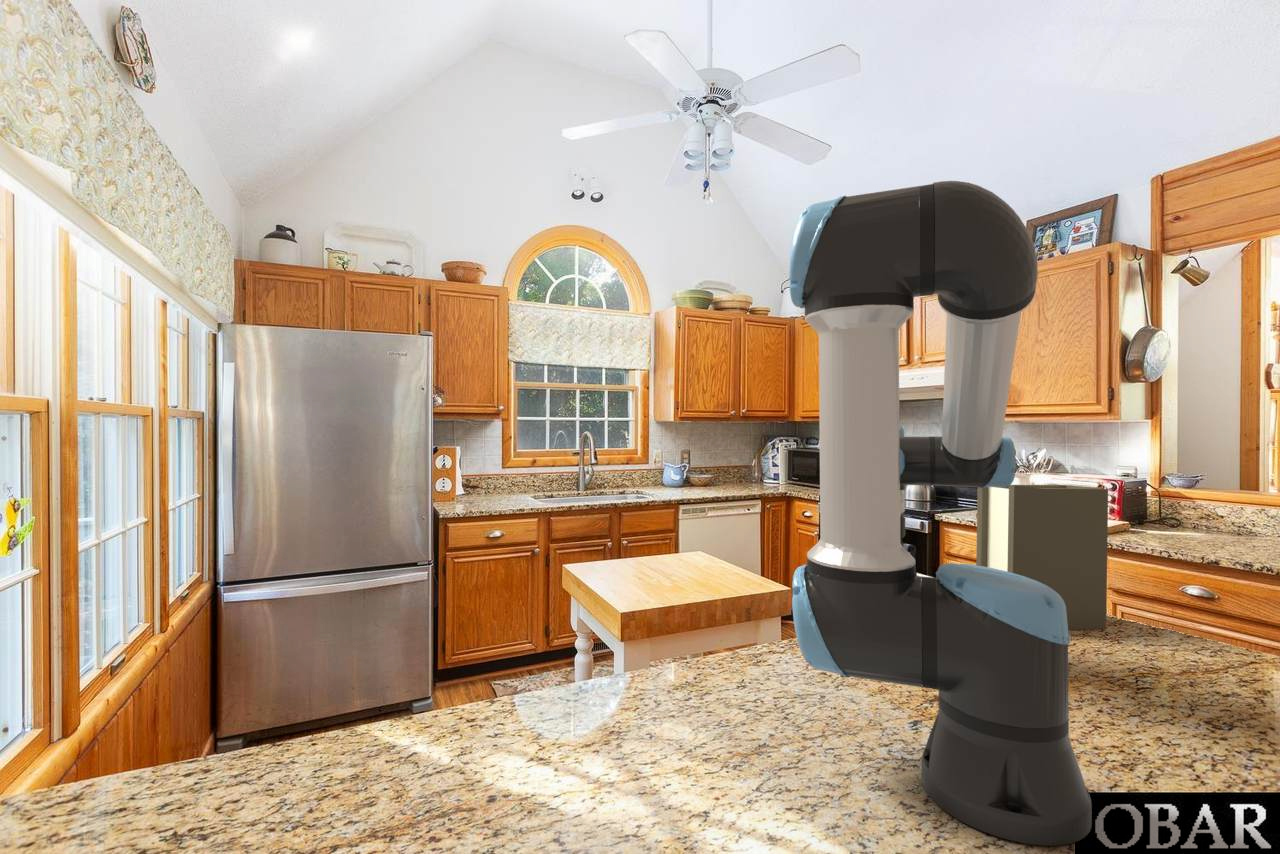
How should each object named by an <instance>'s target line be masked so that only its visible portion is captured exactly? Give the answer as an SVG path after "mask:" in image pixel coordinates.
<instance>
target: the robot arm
mask: <svg viewBox="0 0 1280 854" xmlns="http://www.w3.org/2000/svg"><path fill="white" fill-rule="evenodd" d="M789 256H790V257H789V267H788V268H789V269H788V270H789V271H788V276H789V294H790V295H789V296H790V299H791V303H792V304H793V305H794V307H796V308H800V309H804V322H805V323H807V324H808V325H809V326H810V327H811V328H812V329H813V330H814V331H815V332H816V333H817V336H818V382H819V383H818V385H819V386H818V393H819V395H818V397H819V401H818V402H819V403H818V404H819V405H818V406H819V407H818V408H819V409H818V410H819V416H818V417H819V419H818V420H819V516H820V517H819V525H820V527H819V528H820V529H819V531H820V533H819V534H820V539H819V540H818V542H817V543H816V544H815V545H814V546H812V547H811V548H810V549H809V550H808V551H807V553H806V564H802V565H801V566H798V567H797V568H796V569H795V570H794V572H793V573H794V574H793V576H792V597H791V604H792V605H791V606H792V616H793V617H792V619H793V624H794V631H795V636H796V641H797V644H798V647H799V651H800V653H801V655H802V656H803V659H804V660H805V662H806V663H807V664H808V665H809V666H811V667H812V668H813V669H815V670H819V671H823V672H828V673H832V674H838V675H840V676H842V677H843V678H852V677H853V678H859V679H865V680H871V681H879V682H883V683H884V682H886V683H892V684H898V685H904V686H910V687H911V686H913V687H919V688H926V689H930V690H931V689H932V690H937V691H938V712H937V714H936V717H935V720H934V722H933V725H932V727H931V731H930V732H929V736H928V739H927V741H926V744H925V748H924V750H923V751H922V756H921V761H920V762H921V763H920V765H921V767H920V769H921V771H920V772H921V773H920V774H921V775H920V776H921V784H922V786H923V788H924V791H925V792H926V794H927V795H928V796H929V797H930V799H931V800H932V801H933V802H934V803H935V804H936V805H937V806H938V807H940V809H942V810H943V811H945V812H946V813H948V814H949V815H950V816H952V817H953V818H955V819H956V820H959V821H960V822H962V823H964V824H966V825H968V826H970V827H971V828H975V829H976V830H979V831H982V832H984V833H987V834H989V835H991V836H995V837H997V838H1001V839H1004V840H1009V841H1012V842H1016V843H1017V842H1018V843H1022V844H1029V845H1034V846H1046V847H1047V846H1050V847H1051V846H1064V845H1070V844H1073V843H1076V842H1079V841H1081V840H1083V839H1084V838H1086V837H1087V836H1088V835H1089V834H1090V832H1091V829H1092V826H1093V825H1092V824H1093V823H1092V822H1093V819H1092V817H1093V816H1092V814H1093V811H1092V809H1093V808H1092V807H1093V806H1092V799H1091V796H1090V792H1089V790H1088V789H1087V786H1086V783H1085V780H1084V777H1083V774H1082V771H1081V767H1080V764H1079V762H1078V759H1077V757H1076V754H1075V751H1074V748H1073V746H1072V743H1071V740H1070V739H1071V738H1070V729H1069V726H1070V725H1069V721H1070V720H1069V717H1070V716H1069V712H1070V711H1069V709H1070V708H1069V703H1070V702H1069V645H1070V644H1071V636H1070V634H1069V630H1068V622H1067V612H1066V606H1065V603H1064V601H1063V599H1062V598H1061V596H1060V595H1059V594H1058V593H1057V592H1056V591H1054V590H1053V589H1052V588H1050V587H1048V586H1047V585H1045V584H1043V583H1040V582H1038V581H1036V580H1033V579H1030V578H1027V577H1024V576H1021V575H1018V574H1014V573H1011V572H1007V571H1003V570H998V569H994V568H989V567H983V566H977V565H976V564H969V563H952V562H951V563H943V564H940V565H939V566H938V568H937V570H936V572H935V577H934V576H930V577H922V576H917V573H918V572H917V567H916V554H917V546H916V545H914V544H908V543H904V542H903V540H902V539H903V538H904V537H905V536H906V517H905V516H904V515H902V514H903V513H905V511H906V508H905V507H906V504H905V503H906V502H905V501H906V499H905V498H906V497H905V496H906V493H905V489H906V488H905V486H935V487H936V486H939V487H940V486H941V487H942V486H943V487H958V488H959V487H960V488H962V487H963V488H964V487H965V488H977V489H978V488H986V487H1006V486H1009V485H1013V483H1014V481H1015V476H1016V465H1017V464H1016V460H1017V459H1016V449H1015V447H1016V446H1015V443H1014V441H1013V439H1012V438H1011V437H1008V436H1003V433H1004V427H1005V421H1006V420H1005V419H1006V414H1007V407H1008V400H1009V395H1010V393H1009V392H1010V387H1011V382H1012V381H1011V380H1012V373H1013V366H1014V361H1015V353H1016V348H1017V340H1018V334H1019V327H1020V321H1021V313H1022V312H1023V311H1025V310H1026V309H1027V308H1028V307H1029V306H1030V305H1031V303H1032V302H1033V300H1034V298H1035V294H1036V288H1037V282H1038V276H1039V275H1038V273H1039V271H1038V270H1039V269H1038V258H1037V257H1038V256H1037V253H1036V248H1035V245H1034V242H1033V239H1032V237H1031V234H1030V232H1029V229H1027V227H1026V226H1025V224H1024V223H1023V221H1022V219H1021V218H1020V216H1019V215H1018V213H1017V212H1016V211H1015V210H1014V209H1013V207H1011V206H1010V205H1009V204H1008V203H1007V202H1006V201H1005V200H1003V199H1002V198H1001V197H1000V196H998V195H997V194H996V193H994V192H993V191H991V190H989V189H986V188H985V187H982V186H980V185H977V184H976V183H975V184H974V183H970V182H965V181H960V180H959V181H958V180H945V181H944V180H942V181H936V182H932V183H930V184H924V185H917V186H910V187H904V188H903V187H902V188H897V189H891V190H883V191H876V192H870V193H868V192H867V193H863V194H857V195H851V196H850V195H848V196H847V195H842V196H841V195H840V196H839V197H837V198H835V199H831V200H826V201H822V202H821V201H820V202H816V203H812V204H811V205H809V206H807V207H806V208H805V209H804V210H803V211H802V212H801V214H800V216H799V217H798V220H797V222H796V226H795V229H794V231H793V236H792V242H791V248H790V255H789ZM934 295H937V302H938V305H939V306H940V308H941V309H942V310H943V311H944V312H945V313H946V321H945V323H946V325H945V344H944V345H945V346H944V348H945V349H944V373H943V374H944V376H943V397H942V398H943V399H942V401H943V403H942V426H941V429H942V430H941V431H942V432H941V436H905V429H904V427H903V426H901V424H900V337H899V336H900V330H901V328H902V326H903V325H904V324H905V323H906V322H907V321H908V320H909V319H911V317H912V316H913V315H914V311H915V310H914V309H915V307H914V298H918V297H928V296H934ZM933 577H934V578H933Z"/></svg>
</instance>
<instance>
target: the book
mask: <svg viewBox="0 0 1280 854" xmlns="http://www.w3.org/2000/svg"><path fill="white" fill-rule="evenodd" d="M976 498H977V502H976V505H977V507H976V510H977V511H976V512H977V513H976V558H975V559H976V562H975V565H977V566H983V567H989V568H994V569H998V570H1003V571H1007V572H1011V573H1014V574H1018V575H1021V576H1024V577H1027V578H1030V579H1033V580H1036V581H1038V582H1040V583H1043V584H1045V585H1047V586H1048V587H1050V588H1052V589H1053V590H1054V591H1056V592H1057V593H1058V594H1059V595H1060V596H1061V598H1062V599H1063V601H1064V603H1065V606H1066V612H1067V622H1068V631H1069V630H1070V631H1071V630H1074V631H1075V630H1107V605H1108V604H1107V598H1108V597H1107V596H1108V595H1107V594H1108V593H1107V592H1108V591H1107V590H1108V589H1107V588H1108V534H1109V533H1108V531H1109V530H1108V527H1109V524H1108V522H1109V519H1108V518H1109V517H1108V516H1109V488H1101V487H1100V488H1099V487H1093V486H1083V485H1082V486H1081V485H1080V486H1079V485H1072V484H1010V485H1009V486H1006V487H986V488H978V487H977V496H976Z"/></svg>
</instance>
